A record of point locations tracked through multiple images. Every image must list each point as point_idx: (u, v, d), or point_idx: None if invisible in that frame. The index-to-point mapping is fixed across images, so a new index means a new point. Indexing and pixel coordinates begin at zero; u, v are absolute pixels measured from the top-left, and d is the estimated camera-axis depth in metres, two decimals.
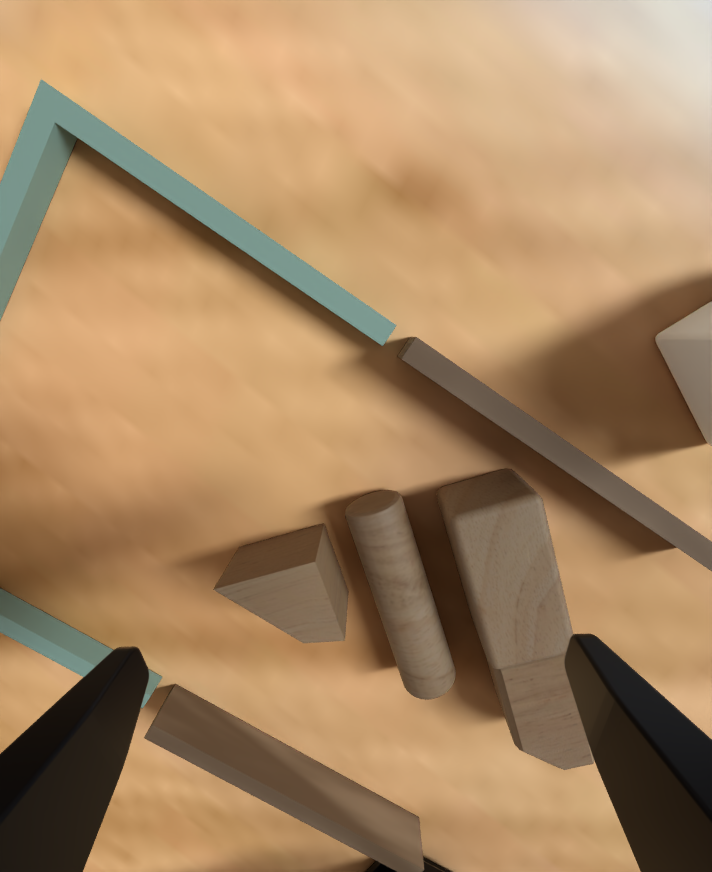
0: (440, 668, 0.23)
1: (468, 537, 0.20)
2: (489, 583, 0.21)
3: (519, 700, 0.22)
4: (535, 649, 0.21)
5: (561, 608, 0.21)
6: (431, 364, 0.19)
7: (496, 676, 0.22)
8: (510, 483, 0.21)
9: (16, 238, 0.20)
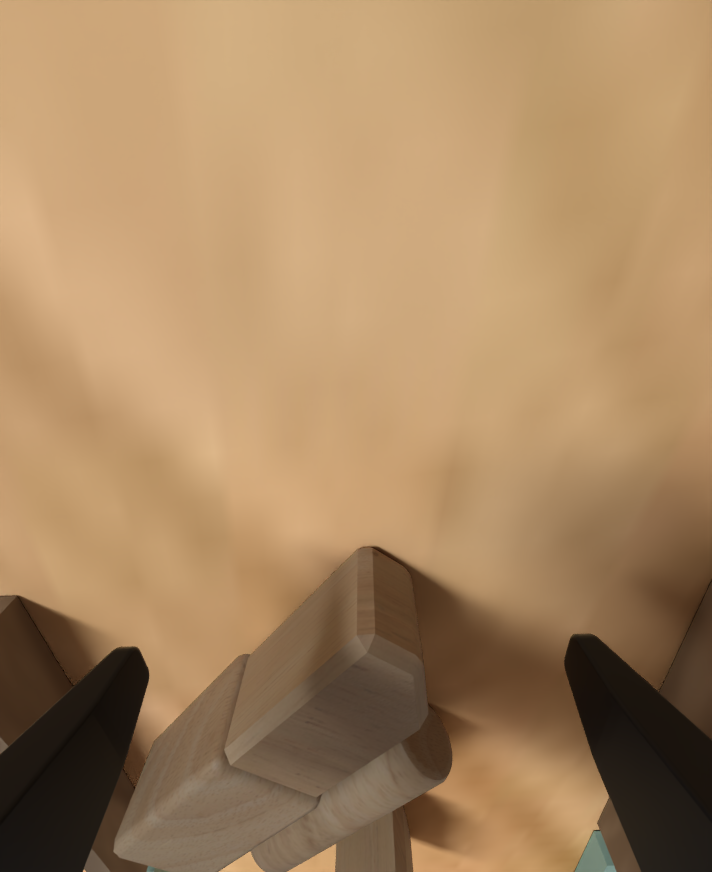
0: (383, 783, 0.17)
1: None
2: (226, 850, 0.17)
3: (339, 769, 0.14)
4: (253, 798, 0.14)
5: (183, 802, 0.15)
6: None
7: None
8: None
9: None
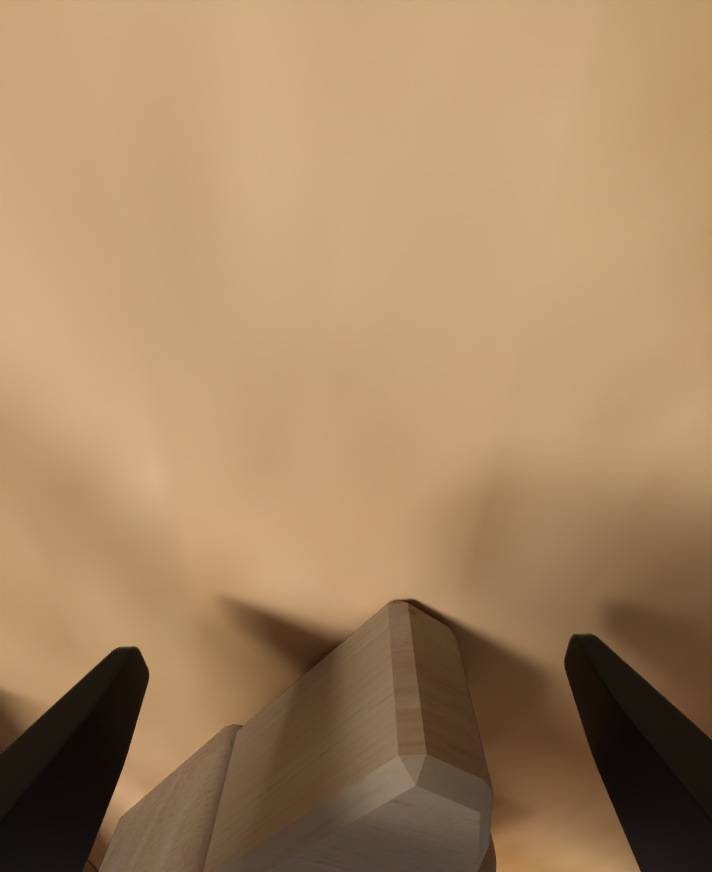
0: None
1: None
2: None
3: None
4: None
5: None
6: None
7: None
8: None
9: None
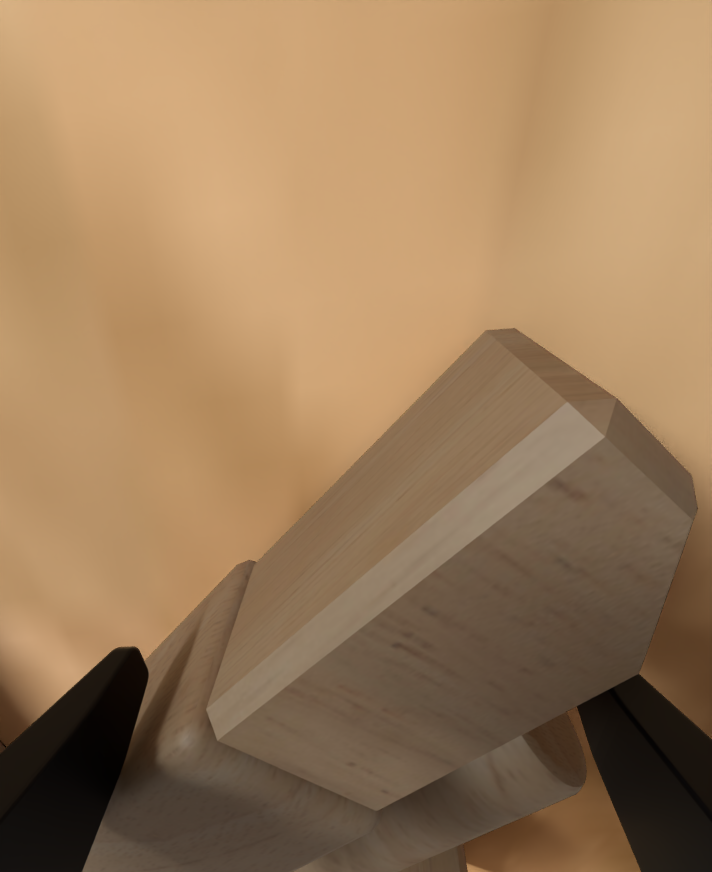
0: (477, 789, 0.10)
1: None
2: None
3: (437, 757, 0.07)
4: (258, 807, 0.07)
5: (121, 811, 0.08)
6: None
7: None
8: None
9: None
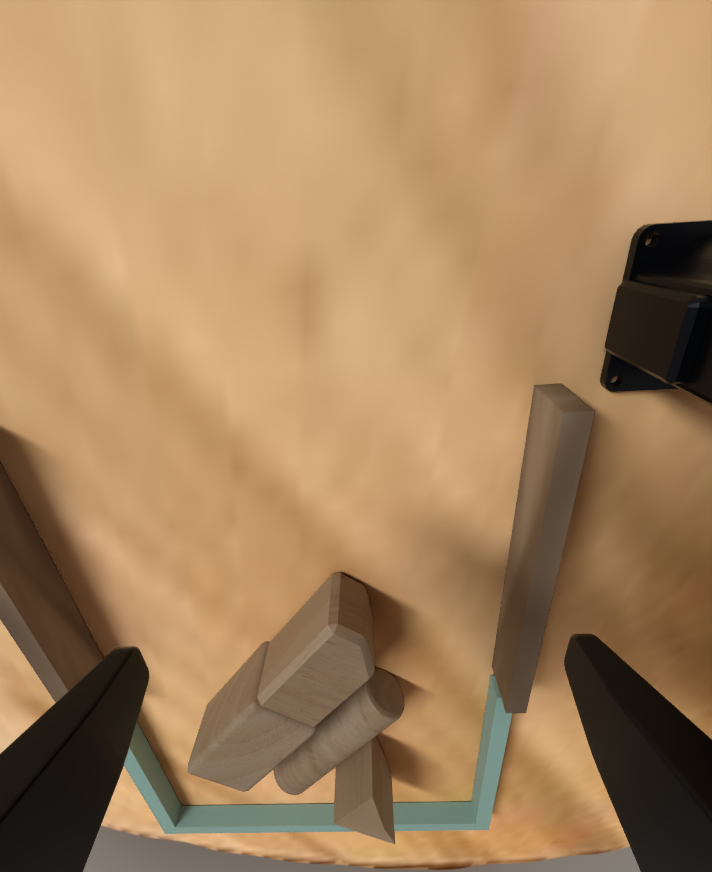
0: (358, 722, 0.26)
1: (245, 786, 0.27)
2: (259, 766, 0.26)
3: (325, 706, 0.23)
4: (275, 727, 0.24)
5: (233, 731, 0.24)
6: None
7: (323, 718, 0.24)
8: None
9: (240, 819, 0.36)
